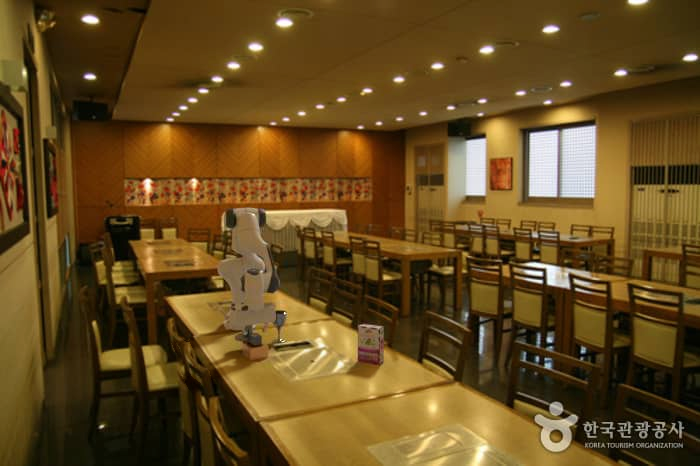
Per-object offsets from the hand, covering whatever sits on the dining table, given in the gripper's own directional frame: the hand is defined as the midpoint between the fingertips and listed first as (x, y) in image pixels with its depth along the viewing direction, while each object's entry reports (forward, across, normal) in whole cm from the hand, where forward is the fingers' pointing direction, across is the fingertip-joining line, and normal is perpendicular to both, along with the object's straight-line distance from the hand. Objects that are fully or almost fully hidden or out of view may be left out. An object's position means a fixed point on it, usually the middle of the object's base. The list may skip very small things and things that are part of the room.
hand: (254, 333), depth 249 cm
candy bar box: (+10, -42, +34) cm, 55 cm away
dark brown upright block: (+11, 0, +1) cm, 11 cm away
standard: (+11, 0, -5) cm, 12 cm away
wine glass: (+11, -19, -15) cm, 27 cm away
